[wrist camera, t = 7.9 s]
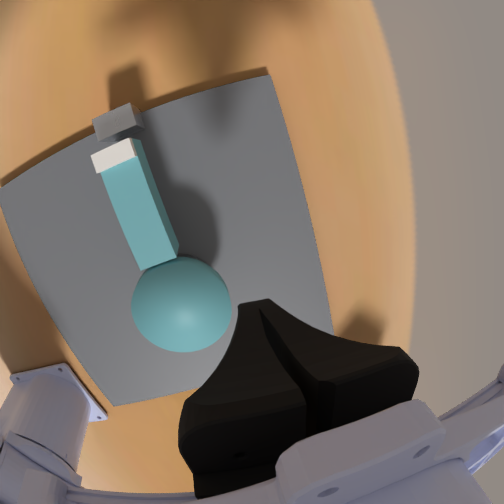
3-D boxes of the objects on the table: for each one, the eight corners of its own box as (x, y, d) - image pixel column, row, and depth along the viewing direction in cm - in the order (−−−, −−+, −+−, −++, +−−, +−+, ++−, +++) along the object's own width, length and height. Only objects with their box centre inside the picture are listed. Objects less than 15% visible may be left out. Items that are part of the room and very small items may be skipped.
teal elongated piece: (239, 315, 20) (246, 340, 17) (161, 341, 20) (157, 368, 17) (170, 128, 16) (164, 122, 13) (81, 167, 15) (61, 171, 12)
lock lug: (112, 143, 17) (98, 141, 14) (107, 124, 16) (91, 119, 13) (145, 129, 17) (136, 124, 14) (140, 110, 16) (129, 102, 14)
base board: (115, 400, 24) (113, 406, 23) (1, 189, 16) (-4, 191, 16) (331, 335, 26) (335, 340, 25) (267, 77, 18) (269, 74, 17)
